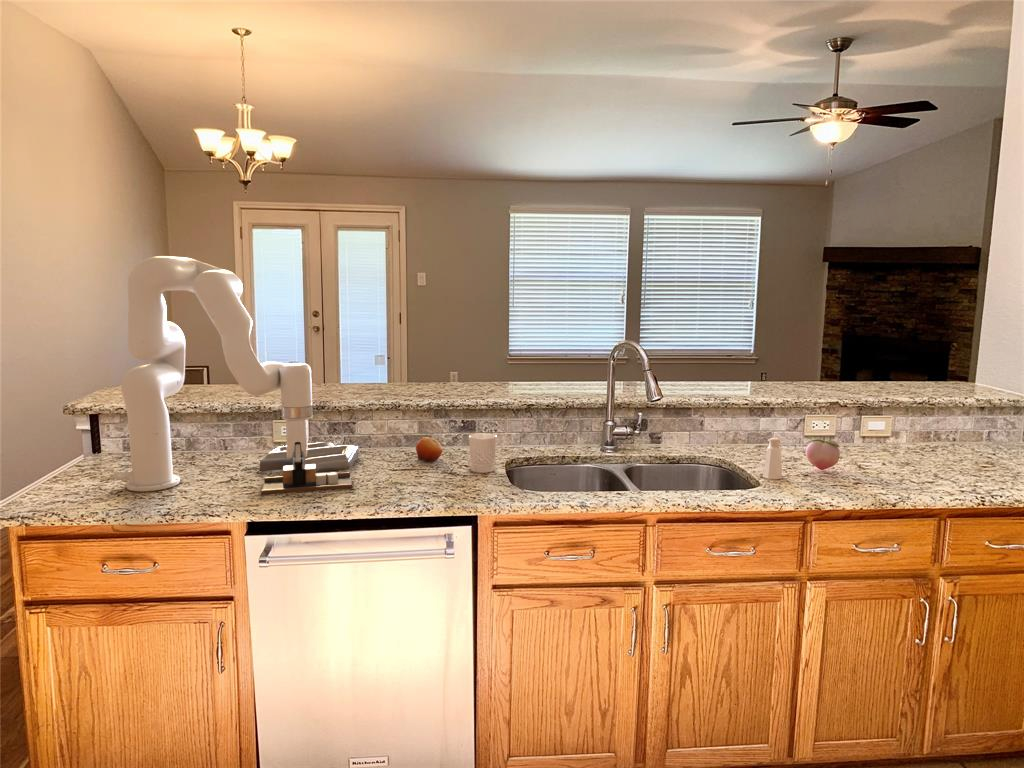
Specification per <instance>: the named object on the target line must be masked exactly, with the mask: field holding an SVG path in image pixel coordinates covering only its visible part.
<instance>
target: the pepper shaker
mask: <svg viewBox="0 0 1024 768" xmlns="http://www.w3.org/2000/svg"><path fill="white" fill-rule="evenodd" d="M780 443H781V439H780V438H777V437H770V438H769V445H768V446H767V448H766V455H765V460H764V467H763V473H762V478H765V479H769V480H781V479H782V478H783V469H782V468H783V466H782V465H783V464H782V447H780Z"/></svg>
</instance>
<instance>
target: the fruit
mask: <svg viewBox="0 0 1024 768" xmlns="http://www.w3.org/2000/svg"><path fill="white" fill-rule="evenodd" d="M415 452H416V456H417V460H416V462H419V461H424V462H429V463H434V462H436V461H437V460H438V459H439V458H440V457H441V455H442V453H443V447H442V445H441V443H440V442H439V441H438V439H437V440H436V439H435V438H433V437H426V436H423V437H421V438H420V439H419V440H418V441H417V443H416V446H415Z"/></svg>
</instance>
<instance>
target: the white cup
mask: <svg viewBox="0 0 1024 768" xmlns="http://www.w3.org/2000/svg"><path fill="white" fill-rule="evenodd" d="M468 449H469V461H470V471H471V472H474V473H479V474H486V473H492V472H494V471H495V464H496V463H495V461H496V452H497V435H496V434H494V433H490V432H475V433H471V434H469V435H468Z"/></svg>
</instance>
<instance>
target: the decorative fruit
mask: <svg viewBox="0 0 1024 768" xmlns="http://www.w3.org/2000/svg"><path fill="white" fill-rule="evenodd" d="M806 443H807V444H808V445H807V446H806V449H805V458H806V459H807V461H808V462H809V463H810V464H811V465H812V466H814V467H816V468H817V469H818V470H820V471H824V470H827V469H830V468H832V467H834V466H836V464H838V462H839V460H840V456H841V453H840V448H841V446H840V445H839V443H838V442H836V441H833V440H827V439H826V436H823V439H820V438H812V439H810V440H808V441H807V442H806Z"/></svg>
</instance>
